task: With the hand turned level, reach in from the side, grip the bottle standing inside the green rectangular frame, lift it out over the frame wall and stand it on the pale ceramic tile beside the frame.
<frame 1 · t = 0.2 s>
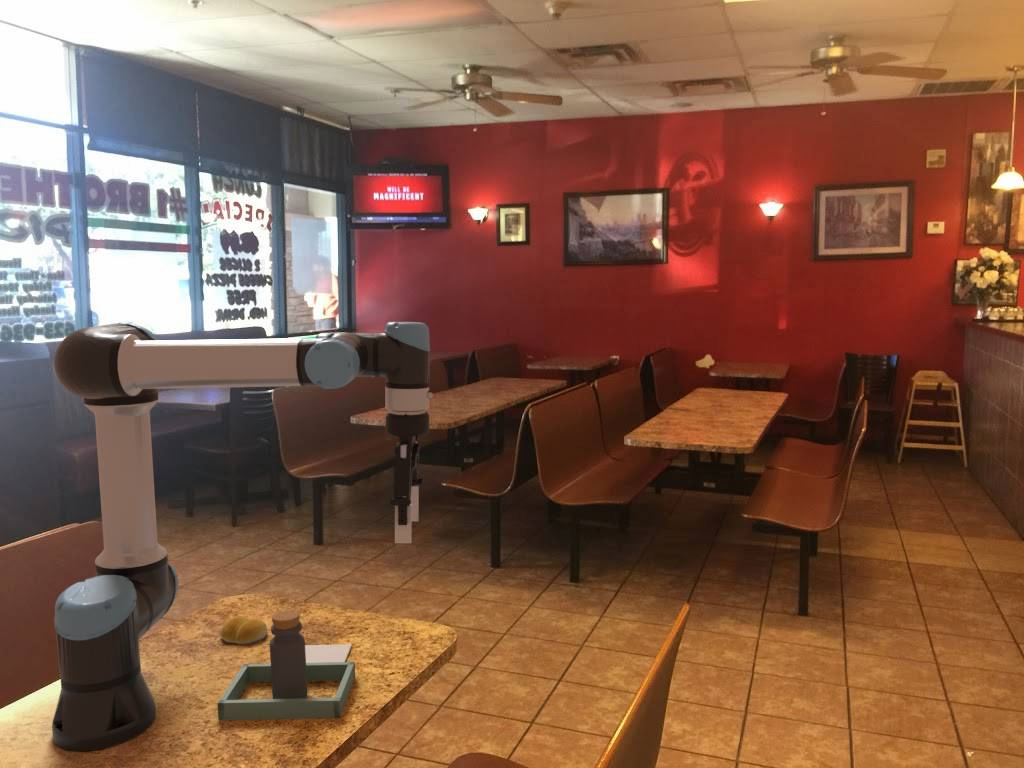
hand: (407, 531, 146), 28 cm above the table, tool pointing down, fingers open, 13 cm apart
tile: (310, 658, 159), on the table
green rectangular frame: (290, 697, 144), on the table
bread roll: (244, 638, 170), on the table
bottle: (290, 699, 144), resting in green rectangular frame
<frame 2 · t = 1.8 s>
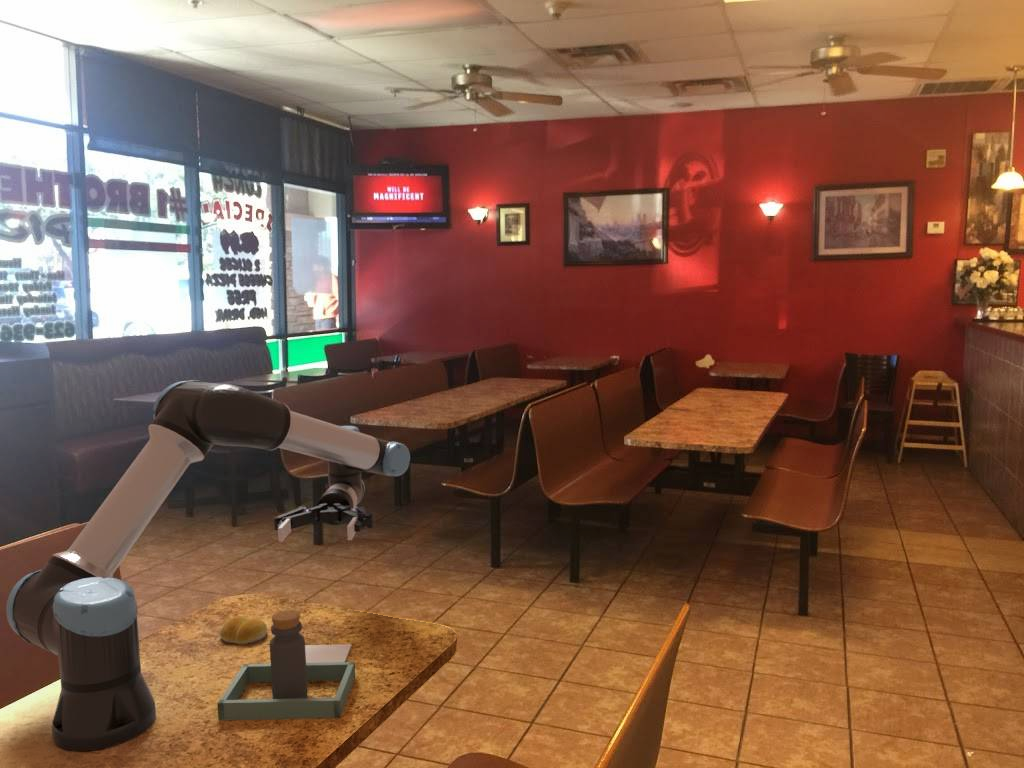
hand: (314, 534, 163), 22 cm above the table, tool horizontal, fingers open, 13 cm apart
nothing on the table moved.
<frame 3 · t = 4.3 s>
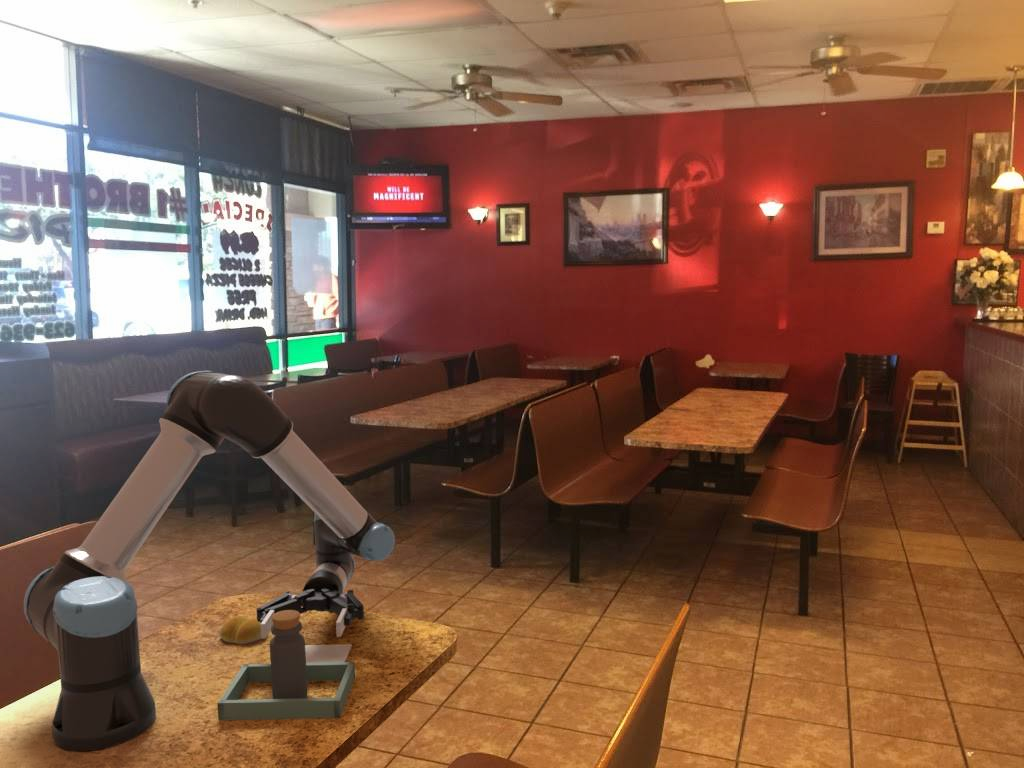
hand: (300, 630, 150), 9 cm above the table, tool horizontal, fingers open, 13 cm apart
nothing on the table moved.
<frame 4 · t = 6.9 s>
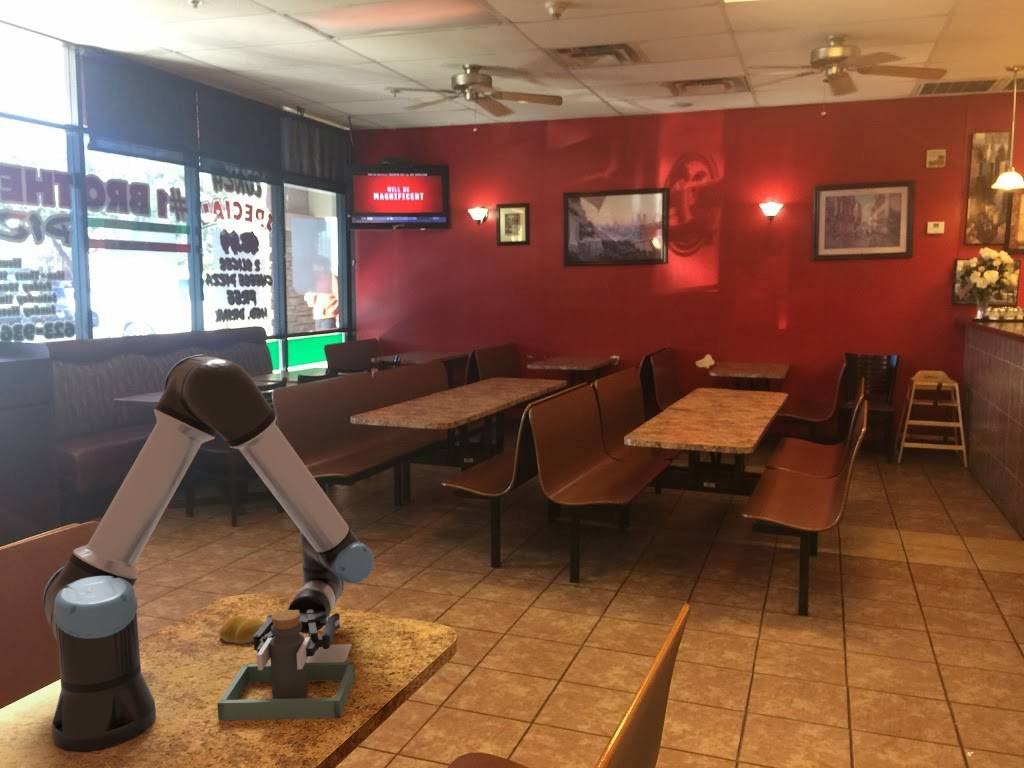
hand: (279, 661, 138), 9 cm above the table, tool horizontal, fingers closed on bottle, 6 cm apart
bottle: (290, 699, 144), resting in green rectangular frame, touching gripper
everything else where it was.
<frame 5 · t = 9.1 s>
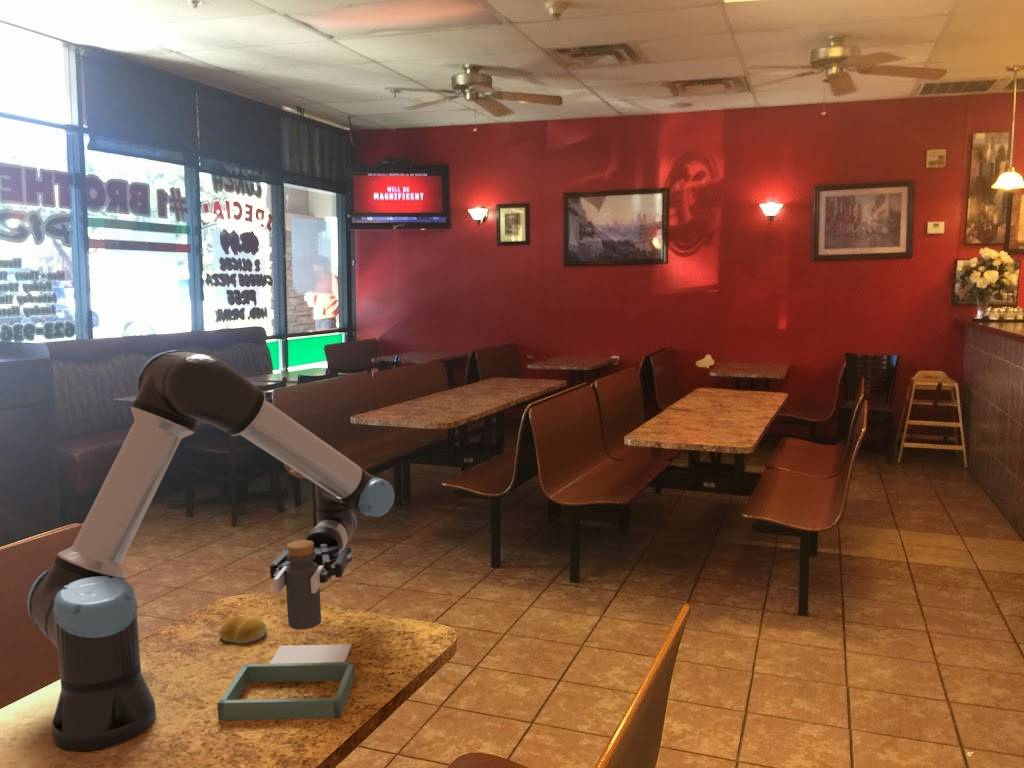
hand: (294, 586, 146), 19 cm above the table, tool horizontal, fingers closed on bottle, 6 cm apart
bottle: (305, 624, 152), point 9 cm above the table, touching gripper
everything else where it was.
when the fingers open (11 cm above the table, at t = 11.5 s): bottle drops 1 cm, resting on tile.
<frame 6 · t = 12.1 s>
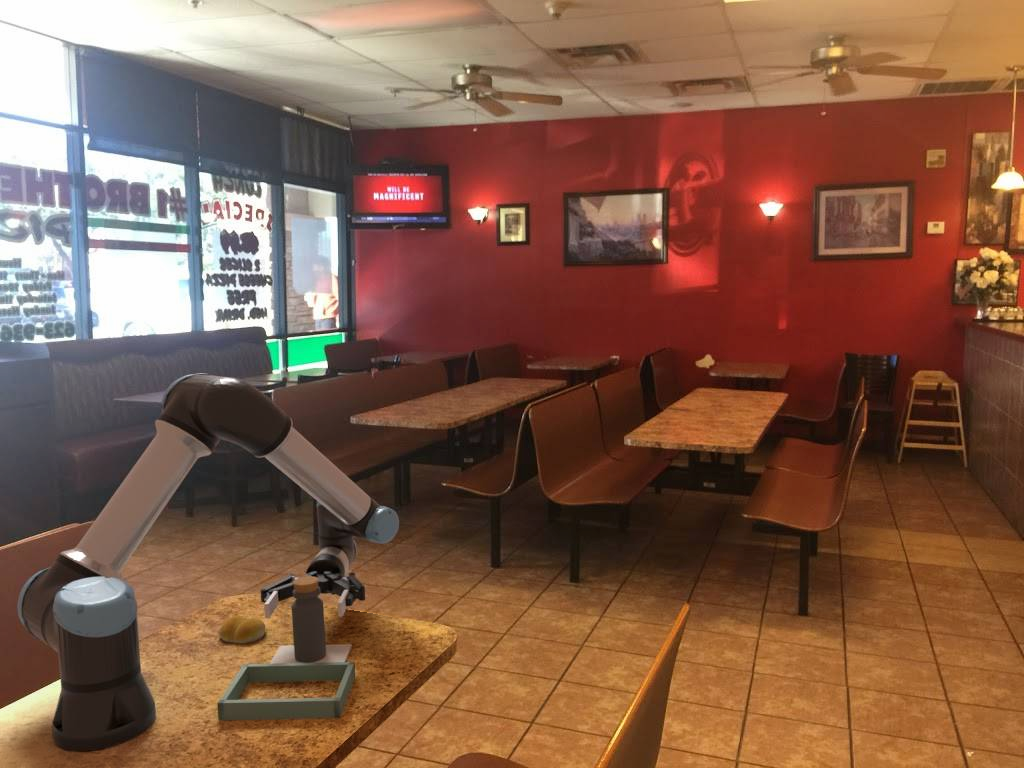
hand: (303, 610, 154), 11 cm above the table, tool horizontal, fingers open, 13 cm apart
bottle: (310, 657, 159), resting on tile
everything else where it was.
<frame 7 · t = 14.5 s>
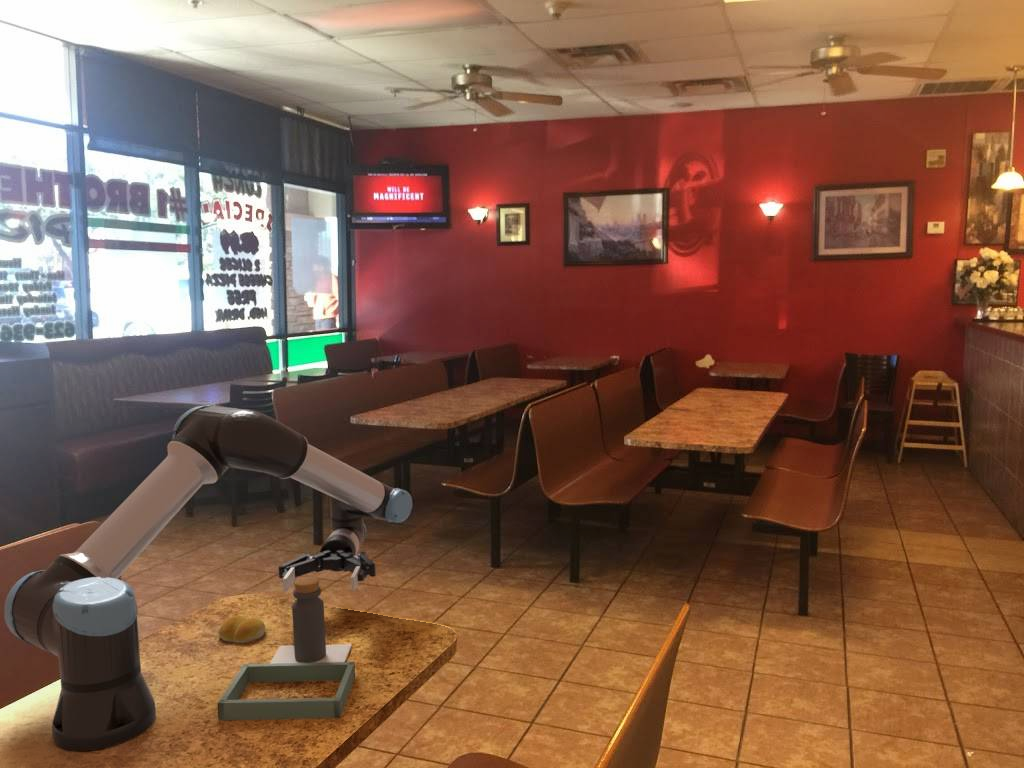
hand: (318, 584, 167), 11 cm above the table, tool horizontal, fingers open, 13 cm apart
nothing on the table moved.
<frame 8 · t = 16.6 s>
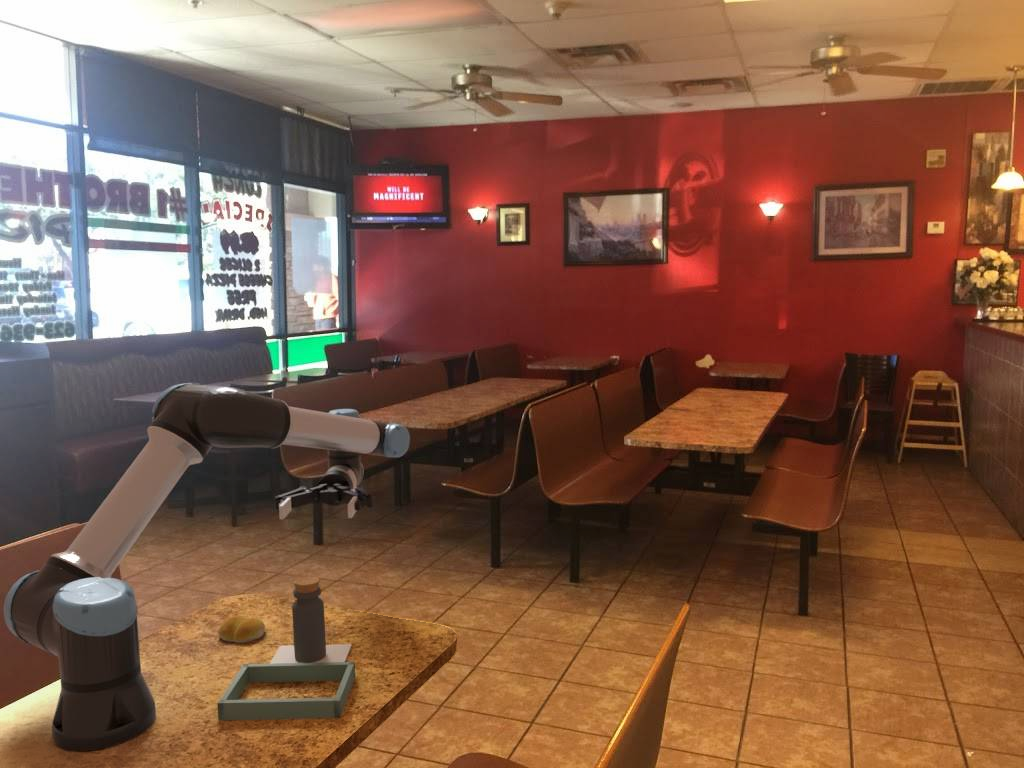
hand: (315, 512, 165), 26 cm above the table, tool horizontal, fingers open, 13 cm apart
nothing on the table moved.
at the end: bottle inside the target area (0.1 cm from its centre), resting on tile; bottle tilted 0°; the gripper is holding nothing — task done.
